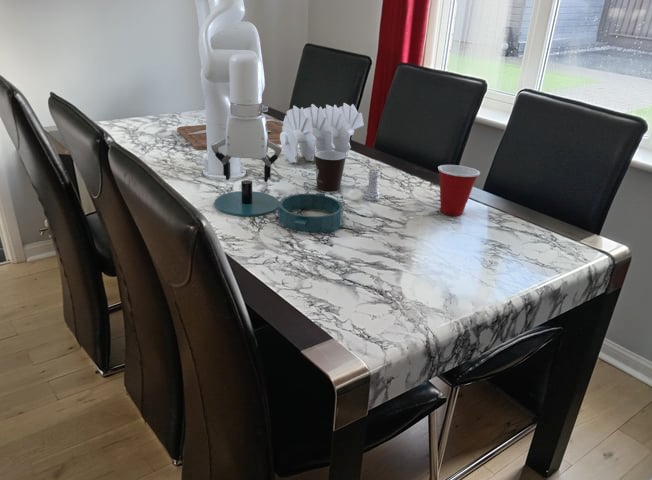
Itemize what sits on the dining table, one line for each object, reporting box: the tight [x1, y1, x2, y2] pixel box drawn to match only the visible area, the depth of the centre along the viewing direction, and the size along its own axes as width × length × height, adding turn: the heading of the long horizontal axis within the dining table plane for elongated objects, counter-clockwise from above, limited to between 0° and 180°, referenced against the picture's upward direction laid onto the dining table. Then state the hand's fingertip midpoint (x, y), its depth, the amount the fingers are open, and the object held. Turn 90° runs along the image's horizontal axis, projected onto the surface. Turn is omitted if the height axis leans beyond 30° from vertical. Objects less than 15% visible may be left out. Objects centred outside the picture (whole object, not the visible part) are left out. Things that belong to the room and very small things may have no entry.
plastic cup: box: [437, 164, 481, 217], centre depth 151 cm, size 11×11×12 cm
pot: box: [277, 192, 344, 234], centre depth 142 cm, size 16×21×4 cm
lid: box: [214, 179, 280, 218], centre depth 148 cm, size 17×17×7 cm
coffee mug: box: [314, 150, 347, 193], centre depth 163 cm, size 12×9×10 cm
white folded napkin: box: [280, 102, 365, 165], centre depth 185 cm, size 18×18×25 cm
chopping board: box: [171, 120, 283, 151], centre depth 208 cm, size 45×27×3 cm, turn 117°
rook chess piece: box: [363, 168, 381, 202], centre depth 158 cm, size 4×4×8 cm
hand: (247, 179), depth 146 cm, fingers open, 9 cm apart
